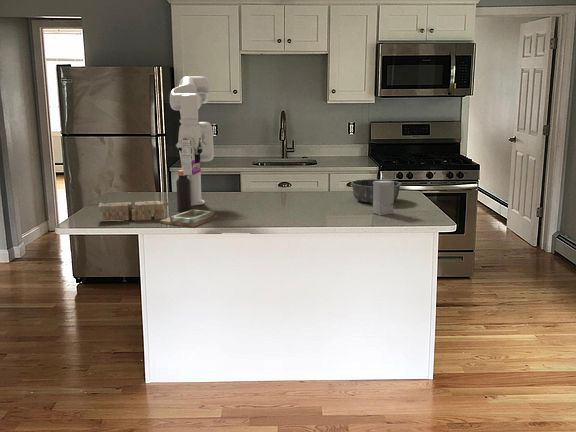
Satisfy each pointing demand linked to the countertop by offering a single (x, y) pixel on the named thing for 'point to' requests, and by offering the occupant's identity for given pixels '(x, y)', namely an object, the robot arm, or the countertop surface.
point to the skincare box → (383, 197)
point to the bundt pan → (369, 189)
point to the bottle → (183, 192)
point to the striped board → (190, 218)
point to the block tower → (132, 210)
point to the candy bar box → (189, 157)
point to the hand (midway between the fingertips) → (191, 162)
